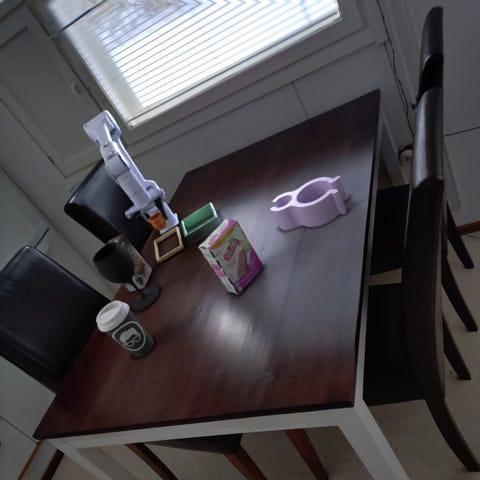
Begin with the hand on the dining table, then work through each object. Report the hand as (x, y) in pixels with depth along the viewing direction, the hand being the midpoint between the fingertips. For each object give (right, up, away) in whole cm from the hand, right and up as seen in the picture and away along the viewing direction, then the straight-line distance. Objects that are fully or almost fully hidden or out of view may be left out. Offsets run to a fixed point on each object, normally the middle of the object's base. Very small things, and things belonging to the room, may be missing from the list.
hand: (159, 223), depth 153 cm
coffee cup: (+1, -40, -28) cm, 49 cm away
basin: (+15, -1, +3) cm, 15 cm away
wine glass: (-2, -26, -10) cm, 28 cm away
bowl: (+1, -1, +1) cm, 2 cm away
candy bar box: (+29, -22, -30) cm, 47 cm away
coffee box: (-6, -20, -1) cm, 21 cm away
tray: (+3, -7, +6) cm, 10 cm away
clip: (+48, -3, -25) cm, 54 cm away
